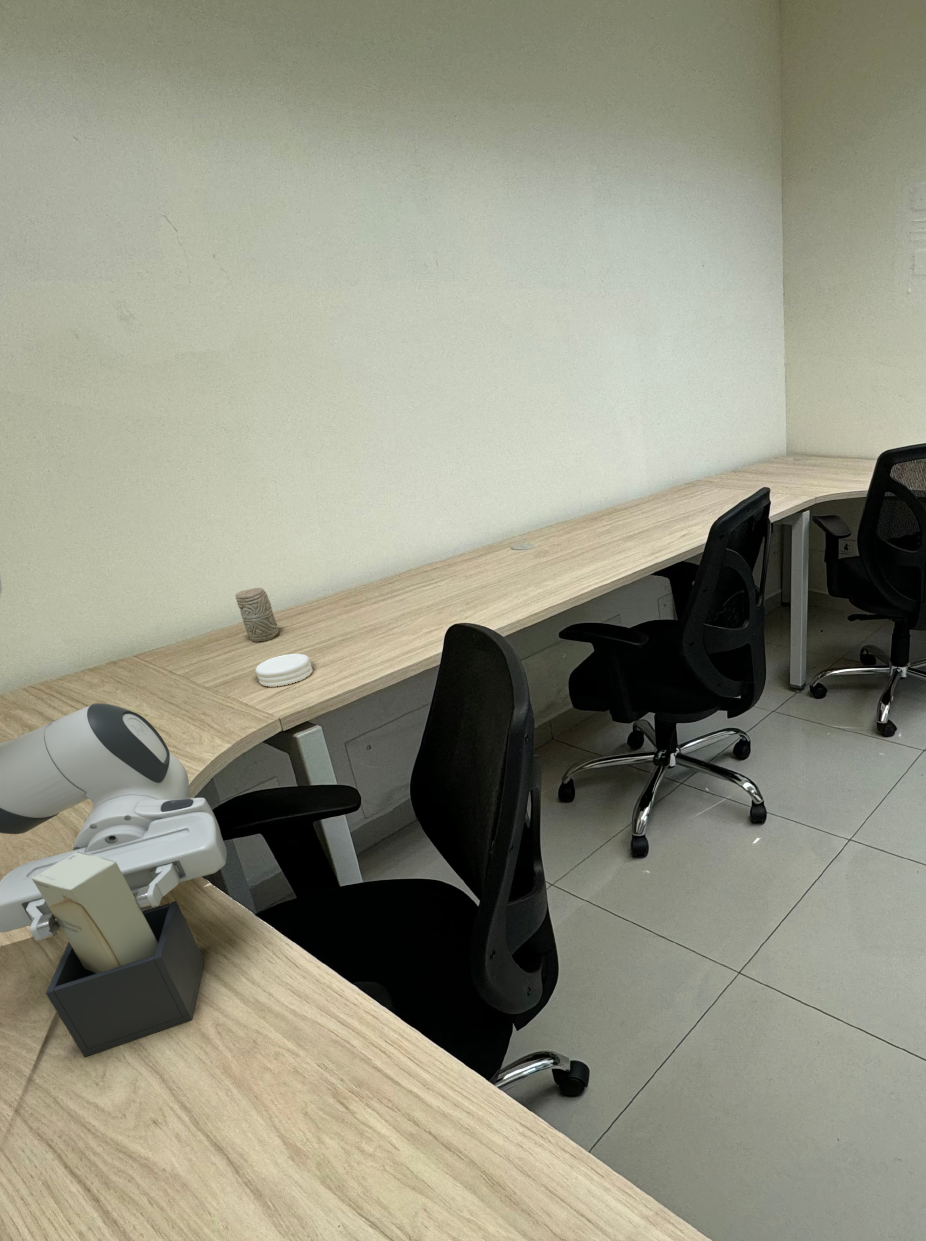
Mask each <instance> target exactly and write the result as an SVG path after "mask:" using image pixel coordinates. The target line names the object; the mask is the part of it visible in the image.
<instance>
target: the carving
mask: <svg viewBox="0 0 926 1241" xmlns="http://www.w3.org/2000/svg"><path fill="white" fill-rule="evenodd" d="M234 597H235V600H236V605H237V607H238V609H239V612H240V615H241V620H242V623H243V624H244V629H245V632H246V633H247V635H248V638H249V639H250V640H251V641H252V642H255V643H260V641H261V642H267V641H269V640H271V639H273V638H275V637H276V636H277V635H278V633H279V626H278V623H277V621H276V618H275V617H276V616H275V614H274V610H273V607H272V603H271V601H270V599H269V596H268V593H267V592H266V591H265V590H264V588H262V587H254V588H249V589H245V590H240V591H238V592H236V593H235V596H234Z"/></svg>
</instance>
